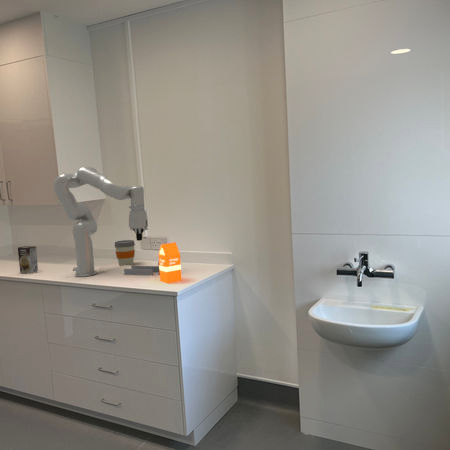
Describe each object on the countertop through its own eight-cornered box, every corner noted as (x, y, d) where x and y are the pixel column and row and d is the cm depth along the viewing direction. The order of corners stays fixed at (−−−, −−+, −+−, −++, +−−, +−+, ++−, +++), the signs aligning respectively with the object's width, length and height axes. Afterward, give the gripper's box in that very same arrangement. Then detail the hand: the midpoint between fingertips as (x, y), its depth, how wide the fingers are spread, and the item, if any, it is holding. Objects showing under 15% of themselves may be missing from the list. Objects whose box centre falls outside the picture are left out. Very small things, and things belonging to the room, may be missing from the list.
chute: (124, 275, 265) (123, 269, 265) (132, 272, 274) (132, 265, 273) (152, 276, 259) (151, 269, 258) (160, 273, 267) (159, 266, 267)
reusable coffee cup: (139, 262, 303) (137, 239, 302) (131, 266, 291) (130, 242, 289) (120, 263, 306) (119, 240, 304) (112, 267, 293) (111, 243, 292)
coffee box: (19, 273, 289) (17, 247, 287) (27, 271, 295) (24, 245, 293) (31, 273, 285) (28, 247, 284) (38, 271, 291) (36, 245, 290)
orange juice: (181, 280, 246) (179, 243, 244) (167, 283, 241) (164, 245, 239) (174, 278, 253) (172, 241, 250) (160, 281, 248) (157, 243, 245)
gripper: (122, 208, 263) (124, 240, 265) (146, 208, 258) (147, 241, 260) (129, 207, 270) (131, 238, 272) (152, 207, 265) (154, 239, 267)
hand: (139, 240), depth 266 cm, fingers closed
